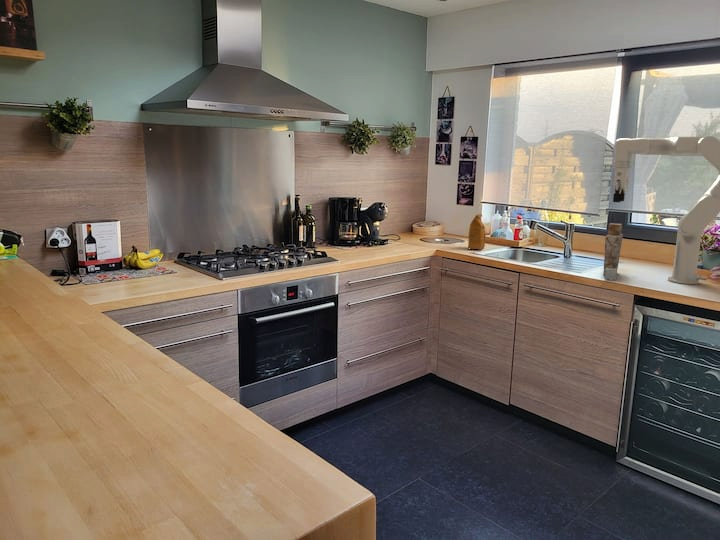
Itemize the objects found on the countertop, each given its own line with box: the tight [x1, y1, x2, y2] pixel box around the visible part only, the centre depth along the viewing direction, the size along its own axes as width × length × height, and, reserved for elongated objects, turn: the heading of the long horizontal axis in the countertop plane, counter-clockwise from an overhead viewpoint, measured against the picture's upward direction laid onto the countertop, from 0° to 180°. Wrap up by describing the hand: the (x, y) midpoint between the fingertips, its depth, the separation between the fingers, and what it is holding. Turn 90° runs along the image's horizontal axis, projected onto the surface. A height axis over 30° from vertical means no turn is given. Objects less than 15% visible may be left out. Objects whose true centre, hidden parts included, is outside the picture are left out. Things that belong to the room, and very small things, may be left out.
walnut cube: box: [607, 222, 623, 235], centre depth 267 cm, size 5×5×5 cm
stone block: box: [603, 233, 624, 276], centre depth 269 cm, size 13×7×20 cm, turn 152°
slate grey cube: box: [603, 268, 618, 281], centre depth 260 cm, size 5×5×5 cm
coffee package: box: [467, 213, 487, 251], centre depth 343 cm, size 10×12×22 cm
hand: (618, 201), depth 264 cm, fingers open, 9 cm apart
